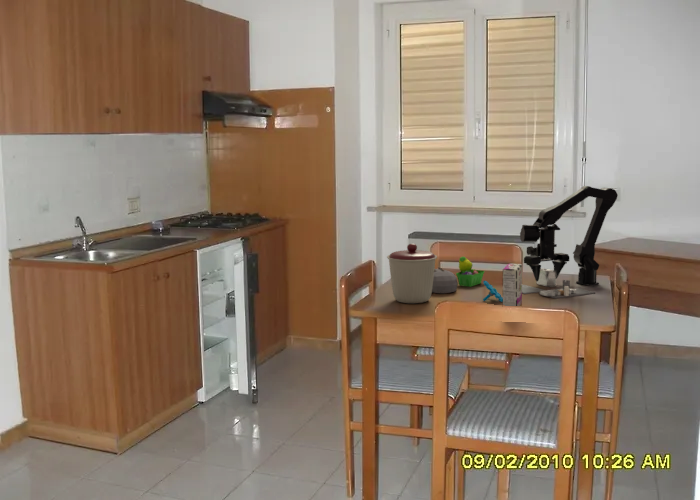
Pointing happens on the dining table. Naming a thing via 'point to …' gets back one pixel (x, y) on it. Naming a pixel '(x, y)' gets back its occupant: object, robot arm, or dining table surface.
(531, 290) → the pad
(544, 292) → the rack
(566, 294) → the rail base
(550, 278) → the chain link
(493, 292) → the blue bumpy stand
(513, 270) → the candy bar box
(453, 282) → the soft grey pack
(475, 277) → the fruit basket
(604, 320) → the dining table surface
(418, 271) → the canister
